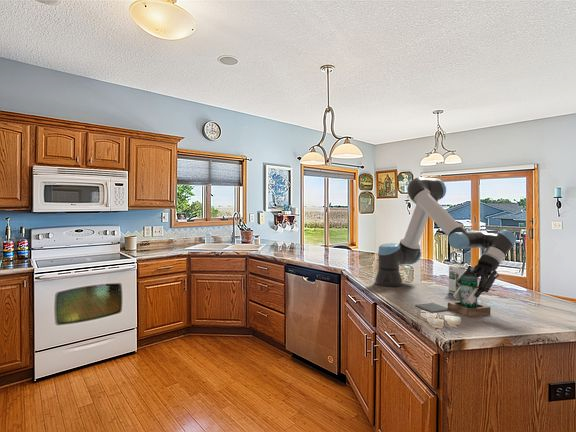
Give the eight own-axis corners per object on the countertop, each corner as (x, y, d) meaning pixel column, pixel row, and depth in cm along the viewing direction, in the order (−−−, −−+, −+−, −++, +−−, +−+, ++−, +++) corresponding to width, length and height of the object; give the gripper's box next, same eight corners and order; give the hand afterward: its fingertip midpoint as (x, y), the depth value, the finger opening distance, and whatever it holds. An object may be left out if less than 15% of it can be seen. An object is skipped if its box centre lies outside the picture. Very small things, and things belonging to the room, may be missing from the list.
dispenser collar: (447, 309, 144) (447, 302, 143) (467, 306, 147) (467, 299, 147) (470, 317, 133) (470, 309, 133) (490, 314, 137) (490, 307, 137)
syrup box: (447, 292, 172) (448, 265, 172) (456, 291, 174) (456, 264, 174) (456, 295, 167) (457, 267, 167) (465, 294, 169) (466, 266, 169)
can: (458, 311, 140) (458, 276, 140) (463, 308, 144) (463, 274, 144) (474, 314, 136) (474, 278, 135) (478, 311, 140) (479, 276, 140)
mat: (415, 306, 148) (415, 304, 148) (432, 304, 151) (432, 302, 151) (432, 312, 138) (432, 311, 138) (450, 310, 142) (450, 308, 142)
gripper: (516, 269, 136) (487, 312, 131) (475, 262, 154) (448, 299, 149) (508, 257, 134) (478, 300, 129) (467, 251, 152) (439, 288, 147)
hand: (462, 299), depth 139 cm, fingers closed on can, 6 cm apart
